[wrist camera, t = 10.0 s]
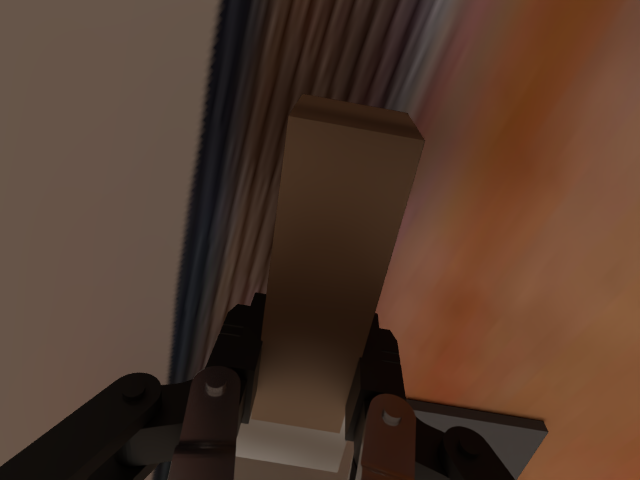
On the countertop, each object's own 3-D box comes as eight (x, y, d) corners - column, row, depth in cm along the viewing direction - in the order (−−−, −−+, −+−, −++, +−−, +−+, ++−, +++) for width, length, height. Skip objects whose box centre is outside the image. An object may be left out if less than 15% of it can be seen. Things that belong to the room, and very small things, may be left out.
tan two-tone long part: (274, 88, 11) (251, 108, 9) (435, 118, 11) (460, 146, 9) (238, 430, 19) (220, 499, 16) (337, 447, 19) (336, 517, 16)
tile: (357, 382, 27) (362, 583, 17) (352, 398, 28) (354, 600, 18) (238, 362, 27) (175, 555, 17) (236, 379, 28) (175, 572, 18)
